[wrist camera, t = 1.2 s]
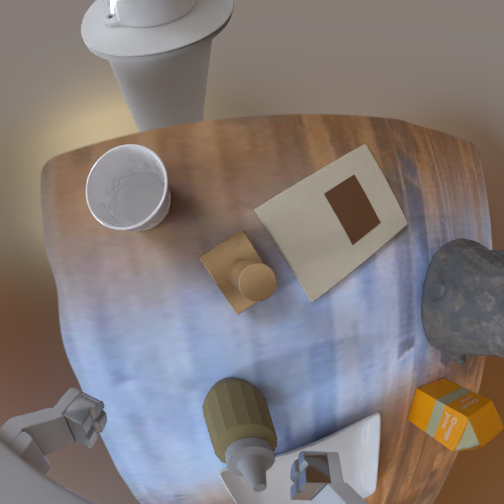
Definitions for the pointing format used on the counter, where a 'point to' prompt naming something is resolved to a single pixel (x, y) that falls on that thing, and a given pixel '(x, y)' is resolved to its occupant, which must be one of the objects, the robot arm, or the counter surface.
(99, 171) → the white cup
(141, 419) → the counter surface
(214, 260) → the scrub brush
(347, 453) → the square plate
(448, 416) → the orange juice
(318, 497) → the robot arm
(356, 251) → the cream rectangular board
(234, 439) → the squeeze bottle
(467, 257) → the vessel
